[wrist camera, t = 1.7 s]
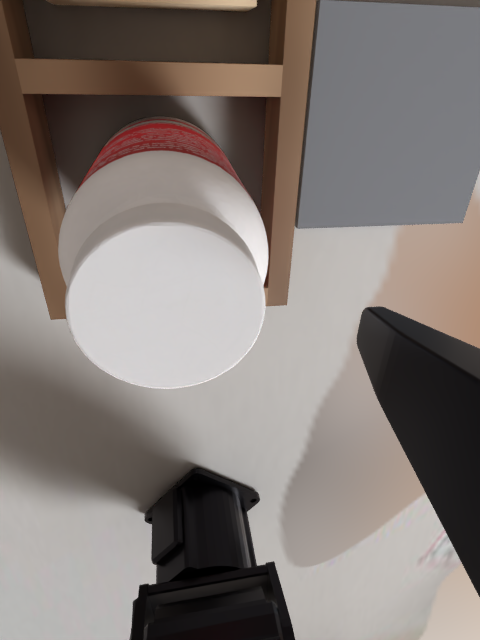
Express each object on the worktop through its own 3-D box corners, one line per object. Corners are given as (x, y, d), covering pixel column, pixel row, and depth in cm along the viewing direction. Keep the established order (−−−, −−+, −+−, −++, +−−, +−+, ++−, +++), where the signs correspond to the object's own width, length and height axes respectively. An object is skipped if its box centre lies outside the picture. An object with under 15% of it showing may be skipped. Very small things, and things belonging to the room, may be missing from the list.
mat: (523, 10, 17) (530, 9, 17) (458, 220, 22) (462, 222, 22) (317, 0, 16) (320, -1, 16) (295, 225, 21) (297, 228, 20)
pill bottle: (68, 141, 17) (-39, 239, 8) (208, 94, 17) (261, 138, 8) (130, 268, 21) (105, 439, 11) (247, 229, 21) (316, 371, 11)
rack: (319, -296, 12) (351, -369, 10) (275, 281, 22) (286, 304, 20) (-94, -360, 11) (-157, -462, 8) (62, 293, 21) (50, 319, 19)
